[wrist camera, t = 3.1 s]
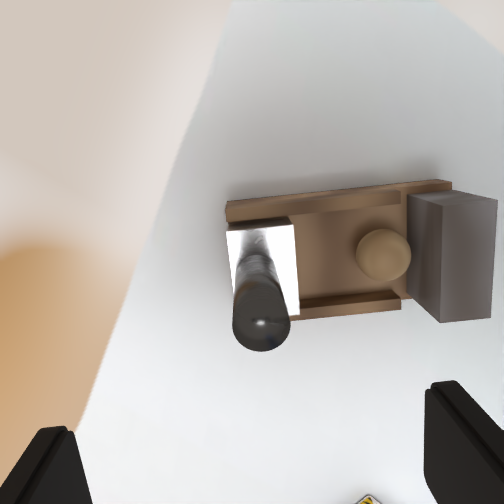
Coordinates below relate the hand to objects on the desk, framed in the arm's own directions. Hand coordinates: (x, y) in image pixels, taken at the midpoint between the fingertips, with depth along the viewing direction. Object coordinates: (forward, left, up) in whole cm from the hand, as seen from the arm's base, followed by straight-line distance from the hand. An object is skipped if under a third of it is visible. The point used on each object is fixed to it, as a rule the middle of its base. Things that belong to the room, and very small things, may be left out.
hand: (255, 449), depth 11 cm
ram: (-1, 0, -17) cm, 17 cm away
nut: (-9, 0, -18) cm, 20 cm away
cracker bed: (-7, 0, -20) cm, 21 cm away
